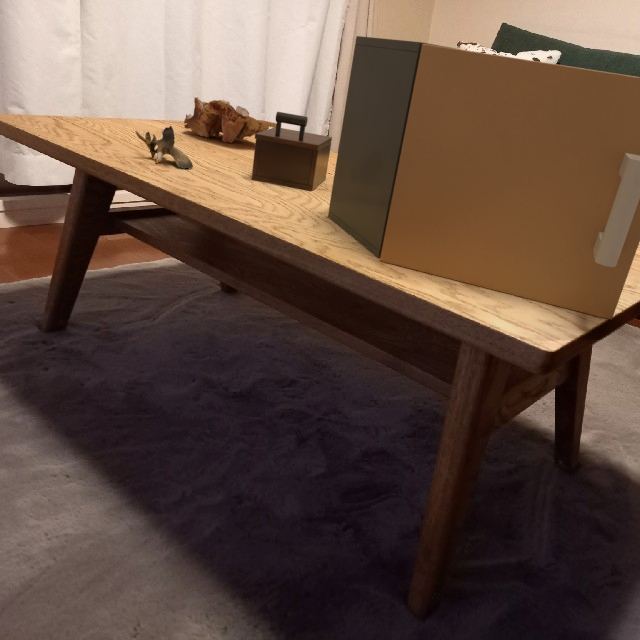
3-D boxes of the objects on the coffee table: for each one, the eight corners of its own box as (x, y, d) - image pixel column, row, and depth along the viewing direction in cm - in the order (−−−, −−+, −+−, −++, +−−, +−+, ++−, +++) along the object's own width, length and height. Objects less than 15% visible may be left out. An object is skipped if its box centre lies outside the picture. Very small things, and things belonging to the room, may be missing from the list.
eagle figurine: (127, 152, 107) (167, 153, 102) (140, 115, 108) (181, 114, 104) (156, 175, 113) (195, 176, 109) (169, 139, 115) (208, 139, 110)
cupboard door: (615, 339, 63) (707, 85, 54) (364, 273, 70) (409, 39, 61) (611, 317, 69) (693, 85, 60) (381, 259, 76) (424, 44, 67)
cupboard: (553, 266, 85) (611, 76, 76) (377, 259, 76) (420, 42, 67) (480, 227, 101) (522, 65, 91) (327, 217, 91) (356, 35, 82)
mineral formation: (283, 148, 137) (291, 104, 137) (218, 121, 126) (227, 73, 127) (227, 160, 154) (235, 121, 155) (167, 137, 144) (175, 95, 144)
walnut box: (312, 191, 107) (318, 149, 104) (251, 179, 108) (255, 138, 105) (325, 179, 118) (331, 141, 116) (270, 168, 119) (274, 131, 117)
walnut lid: (317, 150, 103) (321, 120, 102) (254, 138, 105) (257, 109, 103) (331, 141, 116) (335, 115, 114) (275, 131, 117) (278, 105, 115)
